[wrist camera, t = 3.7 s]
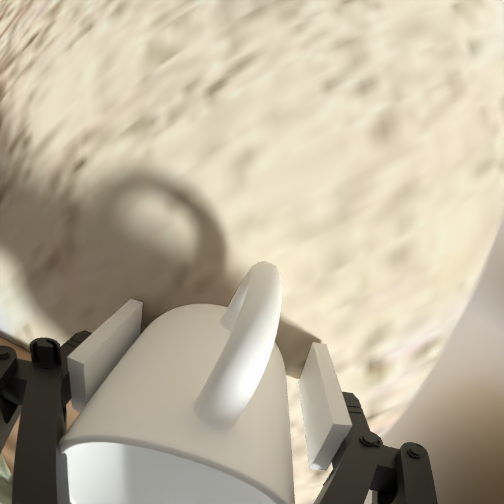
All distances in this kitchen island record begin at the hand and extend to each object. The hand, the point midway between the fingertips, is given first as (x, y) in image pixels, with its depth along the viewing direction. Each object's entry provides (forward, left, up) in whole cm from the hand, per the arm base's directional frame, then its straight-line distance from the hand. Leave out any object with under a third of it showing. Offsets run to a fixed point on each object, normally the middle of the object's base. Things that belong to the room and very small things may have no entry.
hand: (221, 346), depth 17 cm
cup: (0, 0, -1) cm, 1 cm away
